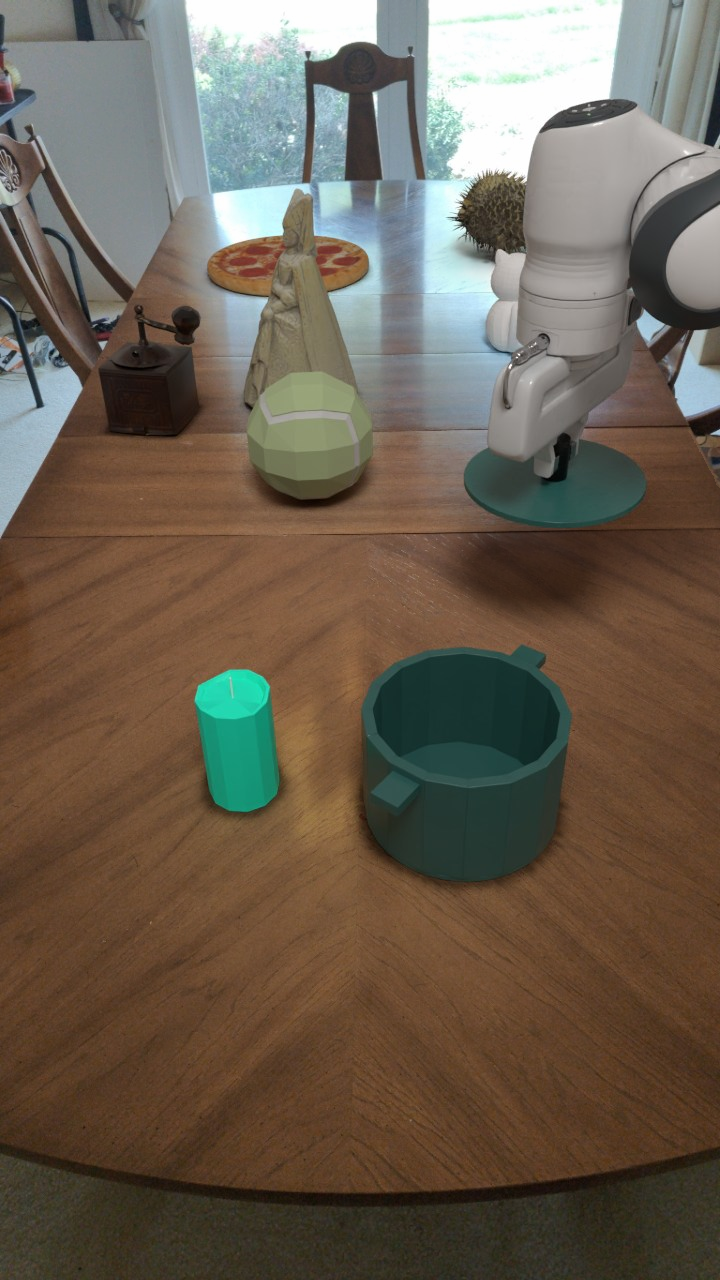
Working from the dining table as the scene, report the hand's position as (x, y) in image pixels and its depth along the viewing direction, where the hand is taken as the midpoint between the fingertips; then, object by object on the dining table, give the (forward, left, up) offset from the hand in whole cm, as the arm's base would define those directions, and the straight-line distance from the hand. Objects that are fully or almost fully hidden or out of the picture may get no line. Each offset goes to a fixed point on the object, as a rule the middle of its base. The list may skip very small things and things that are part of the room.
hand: (555, 465), depth 91 cm
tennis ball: (+36, -7, -18) cm, 41 cm away
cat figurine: (+40, -63, -18) cm, 77 cm away
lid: (0, 0, -2) cm, 2 cm away
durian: (+66, -104, -18) cm, 125 cm away
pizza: (+97, -73, -18) cm, 123 cm away
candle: (+8, +36, -18) cm, 41 cm away
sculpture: (+56, -28, -18) cm, 65 cm away
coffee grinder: (+66, -11, -18) cm, 69 cm away
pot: (-8, +27, -18) cm, 33 cm away
